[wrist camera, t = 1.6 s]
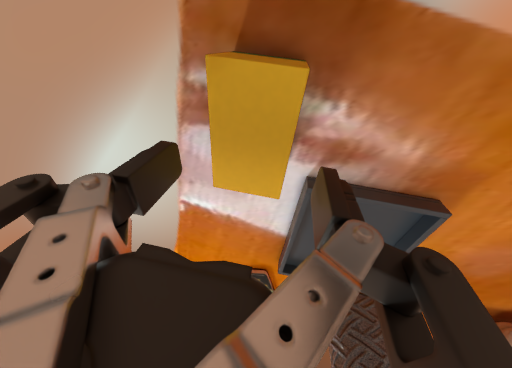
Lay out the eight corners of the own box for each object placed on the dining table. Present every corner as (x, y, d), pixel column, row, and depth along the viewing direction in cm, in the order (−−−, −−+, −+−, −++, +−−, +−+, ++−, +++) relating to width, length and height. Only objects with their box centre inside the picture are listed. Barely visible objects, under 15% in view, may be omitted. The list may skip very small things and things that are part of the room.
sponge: (233, 51, 14) (204, 54, 10) (306, 60, 13) (310, 67, 9) (231, 155, 19) (213, 187, 15) (283, 164, 19) (279, 199, 15)
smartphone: (249, 306, 42) (228, 271, 33) (250, 303, 42) (229, 268, 34) (280, 309, 40) (266, 273, 31) (280, 306, 40) (266, 270, 32)
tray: (306, 176, 19) (307, 187, 18) (439, 200, 18) (453, 214, 17) (278, 261, 30) (277, 273, 28) (361, 279, 29) (365, 293, 27)
